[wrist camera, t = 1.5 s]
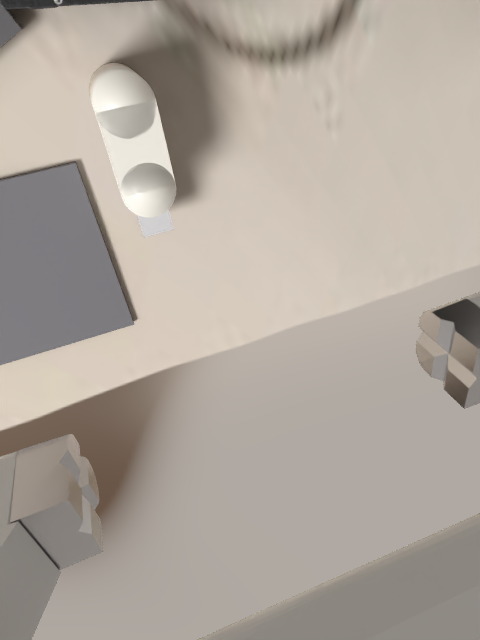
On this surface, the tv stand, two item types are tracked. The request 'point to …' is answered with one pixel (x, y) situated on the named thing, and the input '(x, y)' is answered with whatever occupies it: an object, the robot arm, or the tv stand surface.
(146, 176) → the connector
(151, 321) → the tv stand surface
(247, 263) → the tv stand surface
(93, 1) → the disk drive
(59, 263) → the mat
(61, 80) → the tv stand surface
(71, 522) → the robot arm
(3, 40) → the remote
